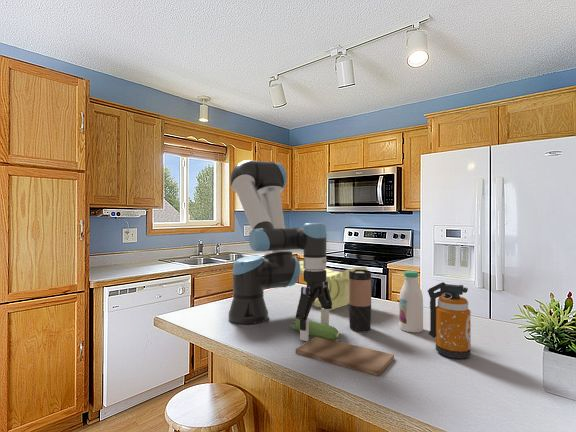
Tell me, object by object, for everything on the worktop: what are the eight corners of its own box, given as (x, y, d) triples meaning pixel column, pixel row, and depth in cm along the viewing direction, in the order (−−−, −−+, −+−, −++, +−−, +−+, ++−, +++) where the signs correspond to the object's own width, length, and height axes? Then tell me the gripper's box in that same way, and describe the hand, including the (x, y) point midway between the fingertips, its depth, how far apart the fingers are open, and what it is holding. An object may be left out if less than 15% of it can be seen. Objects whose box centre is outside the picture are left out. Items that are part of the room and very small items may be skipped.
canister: (469, 363, 90) (469, 288, 90) (425, 353, 96) (425, 283, 95) (471, 351, 97) (471, 282, 97) (430, 343, 103) (430, 278, 103)
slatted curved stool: (368, 306, 144) (368, 265, 144) (346, 314, 133) (346, 269, 133) (315, 294, 166) (315, 258, 166) (292, 300, 155) (292, 262, 155)
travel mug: (371, 333, 112) (371, 273, 112) (348, 331, 114) (348, 272, 114) (370, 325, 120) (370, 269, 120) (349, 324, 121) (349, 269, 121)
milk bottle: (423, 327, 118) (423, 270, 118) (422, 334, 111) (422, 274, 111) (400, 324, 121) (400, 269, 121) (398, 331, 114) (398, 272, 114)
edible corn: (330, 332, 102) (339, 324, 105) (286, 319, 116) (295, 312, 119) (334, 347, 103) (343, 339, 106) (289, 332, 117) (298, 325, 120)
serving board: (295, 353, 96) (295, 348, 96) (316, 340, 106) (316, 336, 106) (379, 376, 82) (379, 371, 82) (393, 358, 92) (393, 354, 92)
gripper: (304, 276, 99) (305, 348, 99) (341, 265, 119) (341, 325, 119) (284, 273, 103) (284, 343, 103) (323, 263, 123) (323, 321, 123)
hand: (315, 333), depth 111 cm, fingers open, 13 cm apart
